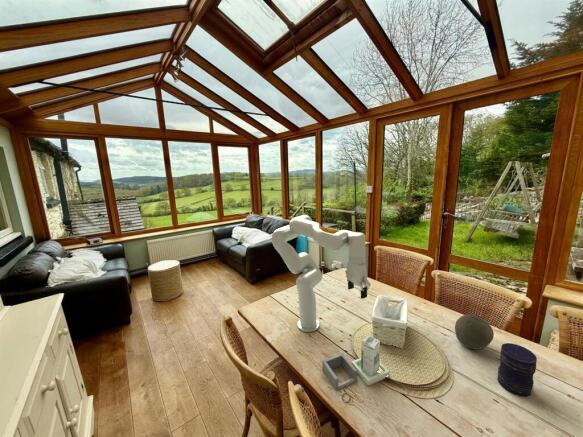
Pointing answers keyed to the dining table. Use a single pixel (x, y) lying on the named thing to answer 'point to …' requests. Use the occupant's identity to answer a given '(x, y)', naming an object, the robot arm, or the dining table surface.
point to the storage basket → (390, 320)
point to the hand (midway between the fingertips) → (357, 293)
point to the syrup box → (370, 355)
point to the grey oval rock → (473, 331)
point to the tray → (368, 378)
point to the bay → (335, 362)
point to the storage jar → (516, 369)
